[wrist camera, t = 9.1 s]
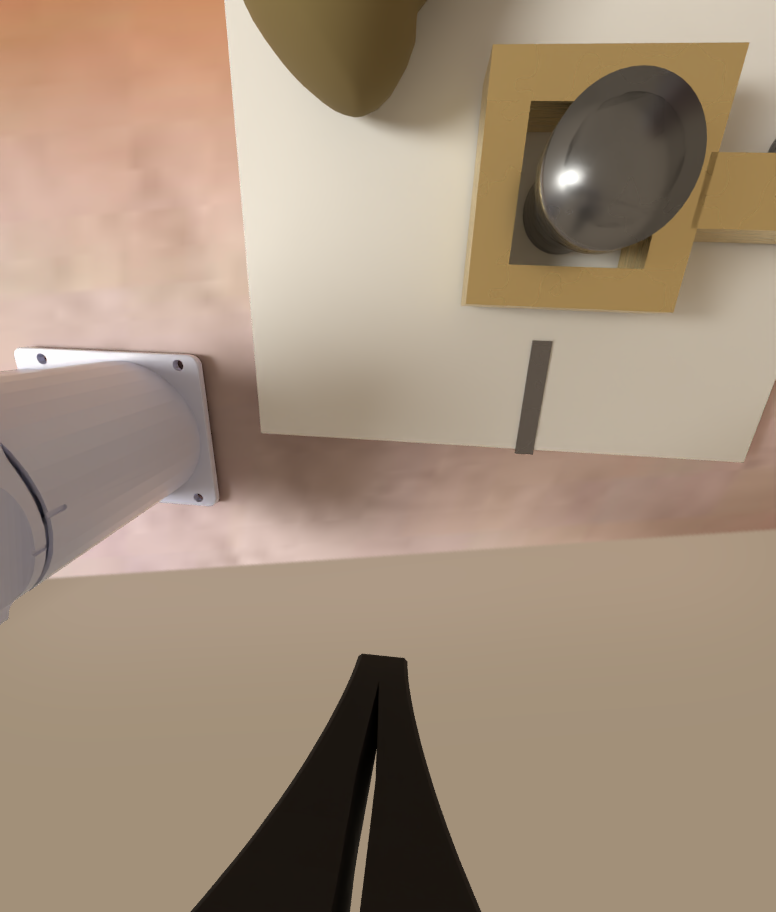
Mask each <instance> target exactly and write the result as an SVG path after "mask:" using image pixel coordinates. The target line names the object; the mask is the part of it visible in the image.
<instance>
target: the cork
mask: <svg viewBox="0 0 776 912" xmlns="http://www.w3.org/2000/svg"><path fill="white" fill-rule="evenodd" d="M243 1H244V3H245V6H246V8H247V10H248V12H249V14H250V16H251V18H252V20H253V22H254V23H255V25H256V26H257V28H258V29H259V31H260V32H261V34H262V36H263V37H264V39H265V40H266V42H267V43H268V44H269V46H270V47H271V48H272V50H273V51H274V52H275V54H276V55H277V56H278V58H279V59H280V60H281V62H282V63H283V64H284V65H285V67H286V68H287V69H288V70H289V71H290V72H291V74H292V75H293V76H294V77H295V78H296V79H297V80H298V81H299V82H300V83H301V84H302V85H303V86H304V87H305V88H306V89H307V90H309V91H310V92H311V93H312V94H313V95H314V96H316V97H317V98H318V99H319V100H320V101H321V102H323V103H324V104H325V105H327V106H328V107H330V108H331V109H333V110H334V111H336V112H338V113H341V114H343V115H346V116H351V117H362V116H365V115H367V114H369V113H371V112H374V111H376V110H378V109H379V108H380V107H381V106H382V105H383V104H384V103H385V102H386V101H387V100H388V99H389V98H390V96H391V95H392V93H393V91H394V89H395V88H396V86H397V84H398V83H399V81H400V79H401V77H402V75H403V74H404V72H405V70H406V68H407V66H408V63H409V60H410V57H411V54H412V51H413V48H414V45H415V40H416V24H417V13H418V12H419V11H420V9H421V8H422V7H423V5H424V4H425V3H426V1H427V0H243Z"/></svg>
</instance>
